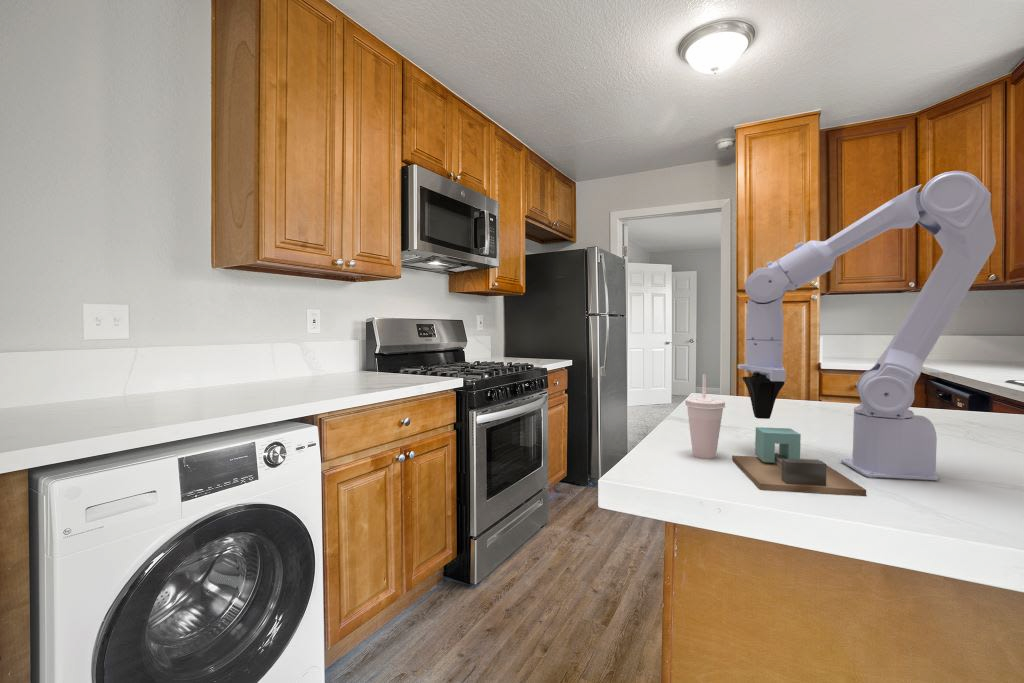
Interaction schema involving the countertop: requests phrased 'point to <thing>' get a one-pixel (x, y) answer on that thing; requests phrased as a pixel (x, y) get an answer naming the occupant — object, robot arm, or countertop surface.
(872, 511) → the countertop surface
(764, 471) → the rail board
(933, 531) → the countertop surface
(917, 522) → the countertop surface
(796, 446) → the block
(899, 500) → the countertop surface
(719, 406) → the smoothie
